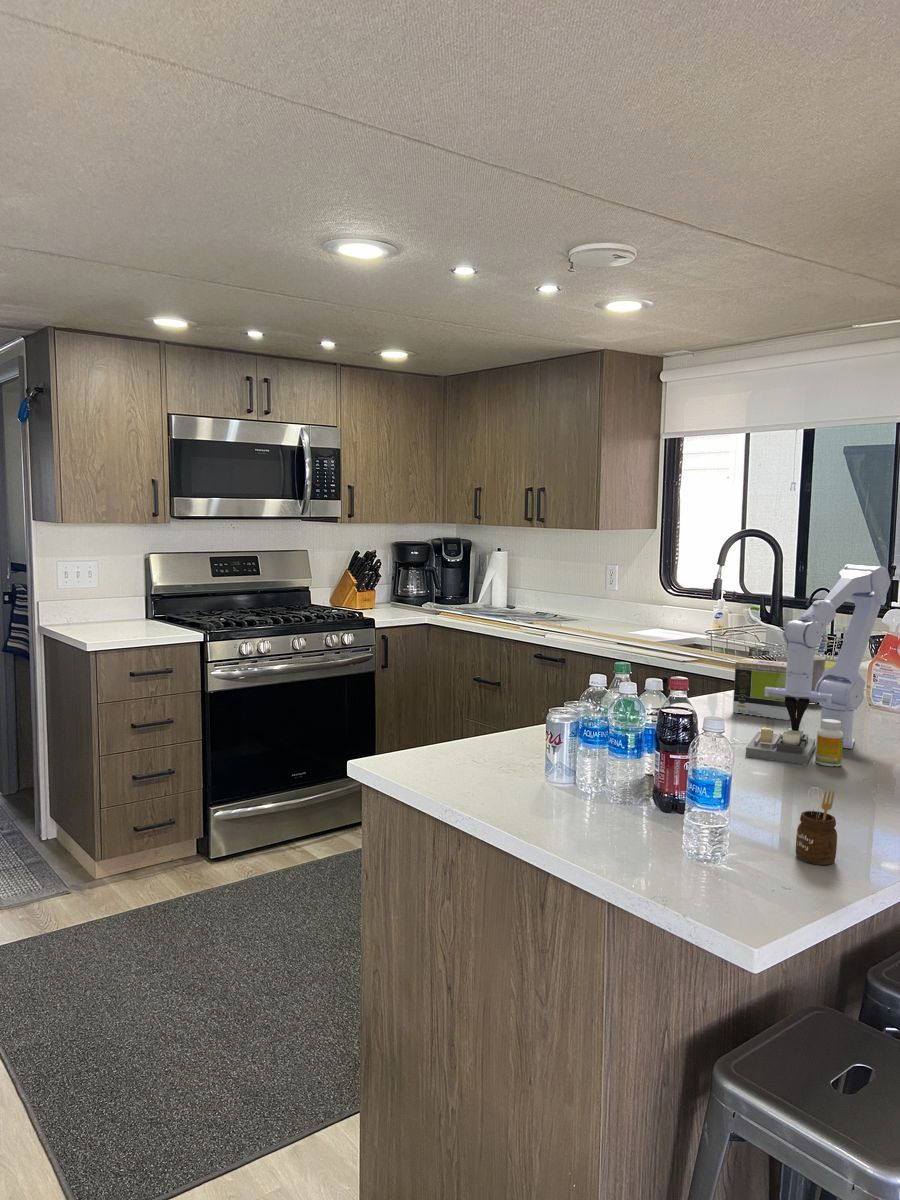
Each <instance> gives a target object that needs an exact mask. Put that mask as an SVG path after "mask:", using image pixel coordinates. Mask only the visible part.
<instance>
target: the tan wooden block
mask: <svg viewBox="0 0 900 1200" xmlns="http://www.w3.org/2000/svg"><path fill="white" fill-rule="evenodd" d="M760 732H761V738H760V742H765V743H772V738H773V734H774V728H770V727H769V728H768V727H761V729H760Z"/></svg>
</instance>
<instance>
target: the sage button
mask: <svg viewBox="0 0 900 1200" xmlns="http://www.w3.org/2000/svg"><path fill="white" fill-rule="evenodd" d="M786 732H788V733H796V734H799V735H800V738H803V734H805V733H804V732H805V731H804V730H803V729H801V728H799V730H798V731H793V730H792V727H790V728H789V727H788V728H787V729H786Z"/></svg>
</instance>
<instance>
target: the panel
mask: <svg viewBox="0 0 900 1200" xmlns="http://www.w3.org/2000/svg"><path fill="white" fill-rule="evenodd" d="M783 733H787V731H783V732H781V733H779V732H778V733H773V738H772V743H765V742H760V738H761V731H757V733H756V734H755V735H754V737H753V738H752V739H751V741H750V742H749V743H748V745H747V746H746V747H745V757H747V758H748V757H750V758H755V759H762V760H769V761H775V762H782V761H783V763H789V764H795V763H797V765H802V764H805V765H804V766H807V765H808V764H809V762H808V761H810V759H811V757H812V755H811V754H813V753H812V752H814V750H815V748H816V739H815V738H809V734H805V733H803V738H800V742H799V746H796V745H789V744H783V743H782V740H783ZM814 747H815V748H814ZM807 763H808V764H807Z"/></svg>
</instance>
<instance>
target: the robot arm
mask: <svg viewBox="0 0 900 1200" xmlns="http://www.w3.org/2000/svg"><path fill="white" fill-rule="evenodd" d="M837 577H838V581H837V582H836V584H834V586H833V588H832V589H831V590H830V591H829V592H828V594H827V595H826V596H825V597H824V599H817V600H815V601H813V602H812V604H811V605H810V607H808V608H807V609H806V611H805V612H803V614H801V615H800V617H799V618H798V619H797V620H794V619H793V620H791V621H790V622H788V623H787V624H786V626H785V628H784V631H782V637H783V640H784V642H785V651H786V652H787V656H786V662H787V669H786V683H785V688H772V687H766V688H765V693H764V696H768V697H769V696H772V697H781V698H785V701H784V703H785V706H786V708H787V710H788V713H789V716H790V719H789V720H790V724H791V725H790V726H791V727H790V728H792V730H793V731H798V730H799V729H800V725H801V721H802V719H803V717H804V714H805V712H806V710H807V708H808V706H809V703H810V701H815V702H819V704H818V705H819V706H821V711H820V712H821V713H820V723H819V724H820V726H819V729H821V728H822V726H821V722H822V719H833V720H838V721H840V722H841V728H840V729H839V730H840V731H841V732H843V735H844V736H843V748H844V749H848V750H849V749H851V750H852V749H853V747H854V744H855V739H854V738H853V730H854V729H853V726H854V717H855V716H854V715H855V711H856V710H858V708H859V707H860V706H861V704H862V703H863V700H864V695H865V693H864V691H865V686H866V685H867V683H866V681H865V680H864V678H863V677H862V675H861V674H860V673H859V670H860V667H861V664H862V661H863V658H864V656H865V653H866V651H867V650H866V649H867V647H868V643H869V642H870V638H871V636H872V632H873V629H874V626H875V624H876V621H877V618H878V616H879V615H878V614H879V612H880V610H881V605H883V604H884V603H885V600H886V597H887V593H888V592H889V588H890V586H891V583H892V581H891V579H890V573H889V571H888V569H887V568H886V567H885V566H872V565H858V564H853V563H849V564H848V563H847V564H846V565H844V567H843V568H842V569H841V570H840V571H839V572H838V576H837ZM848 599H849V600H850V601H851V602H853V603H854V605H855V607H854V610H853V612H852V616H851V618H850V621H849V625H848V628H847V630H846V632H845V636H844V638H843V642H842V644H841V648H840V650H839V652H838V656H837V659H836V661H835V664H834V665H832V666H830V667H829V668H827V669H824V672H823V675H822V677H821V678H820V680H819V681H818V682H817V684H816V687H815V692H814V691H811V689H812V676H813V662H814V655H815V647H816V646H818V645H819V644H820V643H821V640H822V636H823V634H824V632H825V629H826V628H827V627H828V626H829V625H830V624H831V622H833V621H834V619H835V618H836V616H837V612H836V610H837V609H838V608H839V607H840V606H841V605H842V604H844V603H845V602H846V601H847V600H848ZM803 697H806V698H803ZM816 743H817V741H815V744H816Z"/></svg>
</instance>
